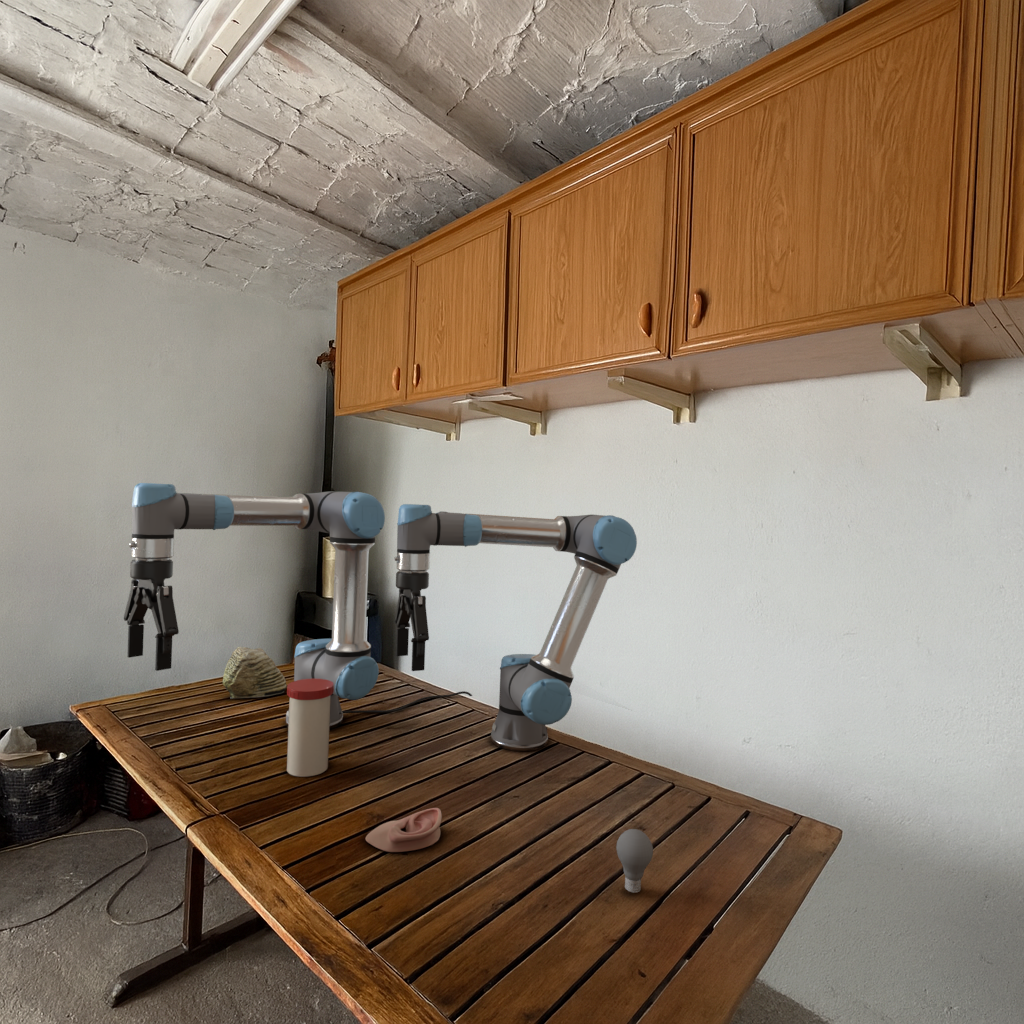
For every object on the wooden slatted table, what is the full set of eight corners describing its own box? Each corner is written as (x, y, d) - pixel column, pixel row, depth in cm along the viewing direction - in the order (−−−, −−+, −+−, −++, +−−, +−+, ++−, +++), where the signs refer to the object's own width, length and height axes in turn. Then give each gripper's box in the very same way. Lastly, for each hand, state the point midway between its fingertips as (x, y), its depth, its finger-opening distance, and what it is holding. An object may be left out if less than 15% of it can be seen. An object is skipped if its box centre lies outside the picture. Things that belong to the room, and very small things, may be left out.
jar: (287, 761, 150) (290, 681, 150) (327, 758, 153) (330, 680, 153) (286, 778, 142) (289, 693, 141) (328, 774, 144) (331, 691, 144)
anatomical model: (358, 825, 115) (384, 797, 126) (357, 847, 115) (383, 816, 126) (428, 836, 112) (447, 806, 123) (427, 858, 112) (447, 826, 123)
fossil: (218, 695, 195) (220, 647, 195) (278, 685, 208) (279, 640, 207) (228, 703, 189) (230, 653, 188) (289, 692, 201) (290, 645, 201)
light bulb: (610, 879, 108) (613, 822, 108) (644, 879, 109) (647, 822, 109) (619, 902, 102) (622, 840, 102) (655, 901, 103) (658, 840, 103)
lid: (287, 687, 150) (287, 679, 150) (332, 685, 154) (332, 677, 153) (286, 701, 140) (286, 692, 140) (334, 698, 144) (334, 690, 144)
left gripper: (108, 554, 134) (104, 654, 134) (159, 565, 118) (155, 678, 119) (146, 552, 140) (143, 648, 140) (199, 563, 124) (195, 671, 124)
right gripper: (383, 565, 156) (381, 651, 156) (411, 578, 133) (408, 678, 133) (413, 564, 159) (410, 649, 159) (445, 577, 136) (442, 675, 137)
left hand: (148, 662), depth 129 cm, fingers open, 13 cm apart
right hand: (409, 662), depth 146 cm, fingers open, 13 cm apart
